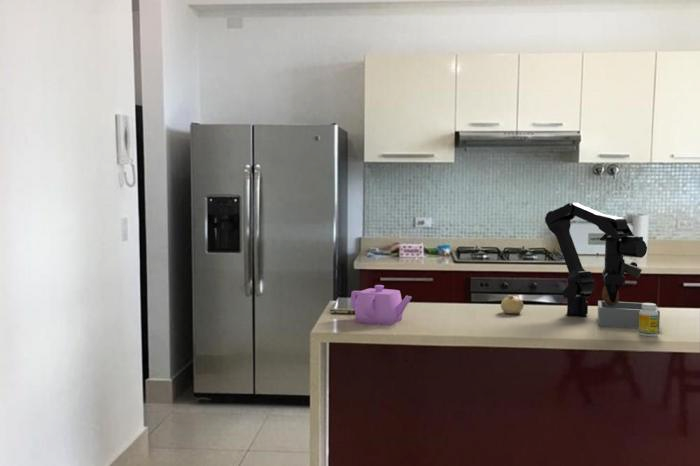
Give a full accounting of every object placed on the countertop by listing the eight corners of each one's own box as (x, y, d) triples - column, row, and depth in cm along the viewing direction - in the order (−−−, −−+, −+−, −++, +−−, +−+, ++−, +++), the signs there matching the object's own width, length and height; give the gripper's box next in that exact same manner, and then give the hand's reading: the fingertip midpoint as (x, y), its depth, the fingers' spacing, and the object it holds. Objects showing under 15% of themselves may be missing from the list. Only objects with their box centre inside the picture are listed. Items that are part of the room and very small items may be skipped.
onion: (498, 311, 232) (498, 292, 231) (519, 311, 232) (519, 292, 231) (504, 315, 224) (504, 296, 223) (526, 315, 224) (526, 295, 223)
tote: (598, 325, 206) (599, 307, 206) (597, 317, 220) (598, 300, 219) (659, 329, 200) (659, 311, 200) (654, 321, 213) (655, 303, 213)
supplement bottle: (644, 332, 197) (645, 301, 197) (661, 335, 193) (662, 304, 192) (634, 334, 194) (635, 303, 194) (651, 337, 190) (652, 306, 189)
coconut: (621, 306, 210) (622, 282, 209) (610, 307, 208) (610, 283, 208) (610, 303, 215) (610, 280, 214) (598, 305, 213) (599, 281, 212)
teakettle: (347, 318, 220) (347, 283, 220) (391, 314, 226) (391, 280, 226) (365, 328, 205) (365, 290, 204) (412, 324, 210) (412, 287, 210)
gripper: (643, 258, 198) (641, 307, 200) (638, 253, 216) (636, 297, 217) (605, 257, 202) (603, 305, 203) (603, 251, 220) (602, 295, 221)
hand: (612, 300), depth 211 cm, fingers closed on coconut, 5 cm apart
